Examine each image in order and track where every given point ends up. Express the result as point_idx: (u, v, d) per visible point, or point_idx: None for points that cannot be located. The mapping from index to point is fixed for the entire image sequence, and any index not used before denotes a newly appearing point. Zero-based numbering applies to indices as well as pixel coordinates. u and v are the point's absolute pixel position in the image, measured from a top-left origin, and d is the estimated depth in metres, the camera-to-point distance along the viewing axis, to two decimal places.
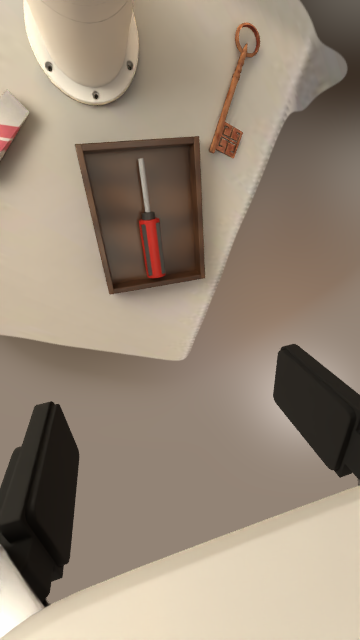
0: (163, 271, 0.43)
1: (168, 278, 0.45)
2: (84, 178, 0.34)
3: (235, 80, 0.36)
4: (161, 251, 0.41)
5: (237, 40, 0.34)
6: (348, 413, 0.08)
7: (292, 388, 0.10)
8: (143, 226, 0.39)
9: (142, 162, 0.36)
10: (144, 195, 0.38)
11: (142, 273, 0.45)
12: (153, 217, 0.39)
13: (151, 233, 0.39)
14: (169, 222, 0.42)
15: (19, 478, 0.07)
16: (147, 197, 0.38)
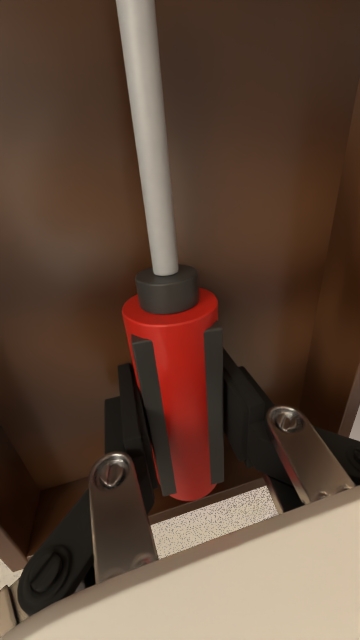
0: (217, 479, 0.11)
1: (227, 472, 0.13)
2: None
3: None
4: (218, 427, 0.10)
5: None
6: (241, 407, 0.08)
7: None
8: (141, 349, 0.08)
9: None
10: (149, 190, 0.07)
11: None
12: (192, 300, 0.08)
13: (180, 376, 0.08)
14: (242, 295, 0.11)
15: (127, 413, 0.08)
16: (166, 201, 0.07)
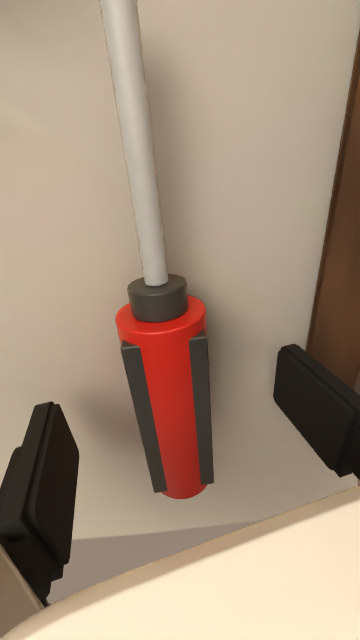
0: (207, 480, 0.12)
1: None
2: None
3: None
4: (205, 430, 0.10)
5: None
6: (348, 413, 0.08)
7: (292, 388, 0.10)
8: (130, 353, 0.08)
9: None
10: (138, 208, 0.07)
11: None
12: (180, 309, 0.08)
13: (167, 380, 0.09)
14: None
15: (19, 478, 0.07)
16: (154, 218, 0.07)
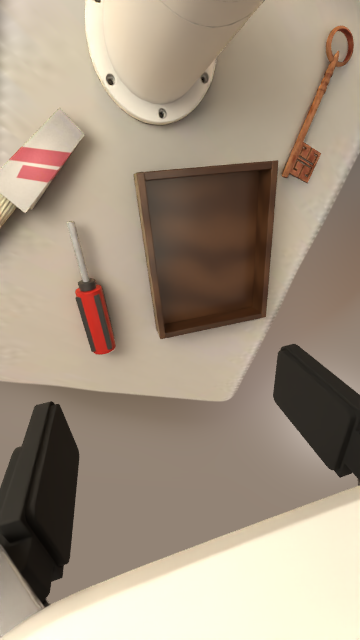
0: (109, 347, 0.35)
1: (225, 318, 0.39)
2: (144, 211, 0.29)
3: (321, 93, 0.30)
4: (104, 326, 0.34)
5: (329, 47, 0.28)
6: (348, 413, 0.08)
7: (292, 388, 0.10)
8: (78, 299, 0.32)
9: (71, 226, 0.29)
10: (78, 263, 0.31)
11: (194, 312, 0.39)
12: (91, 288, 0.32)
13: (88, 307, 0.32)
14: (229, 255, 0.37)
15: (19, 478, 0.07)
16: (82, 265, 0.31)
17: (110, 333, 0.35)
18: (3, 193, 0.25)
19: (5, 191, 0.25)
